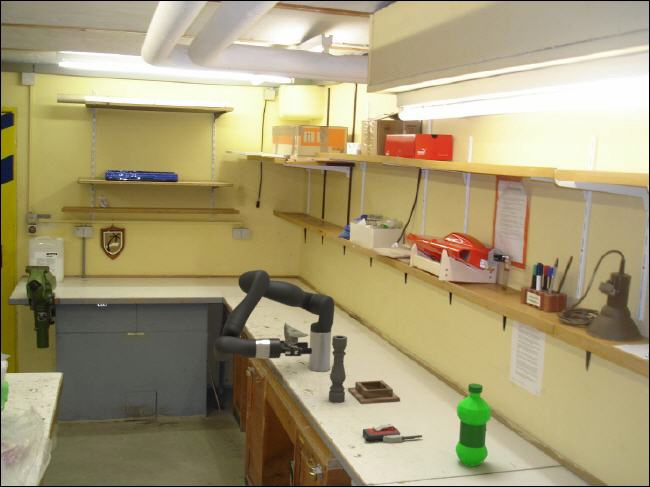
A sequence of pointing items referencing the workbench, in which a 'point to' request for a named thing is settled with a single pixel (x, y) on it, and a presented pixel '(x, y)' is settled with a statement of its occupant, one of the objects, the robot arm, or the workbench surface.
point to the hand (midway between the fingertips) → (309, 347)
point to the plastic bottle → (473, 427)
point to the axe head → (292, 333)
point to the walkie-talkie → (385, 434)
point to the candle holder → (338, 369)
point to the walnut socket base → (373, 392)
